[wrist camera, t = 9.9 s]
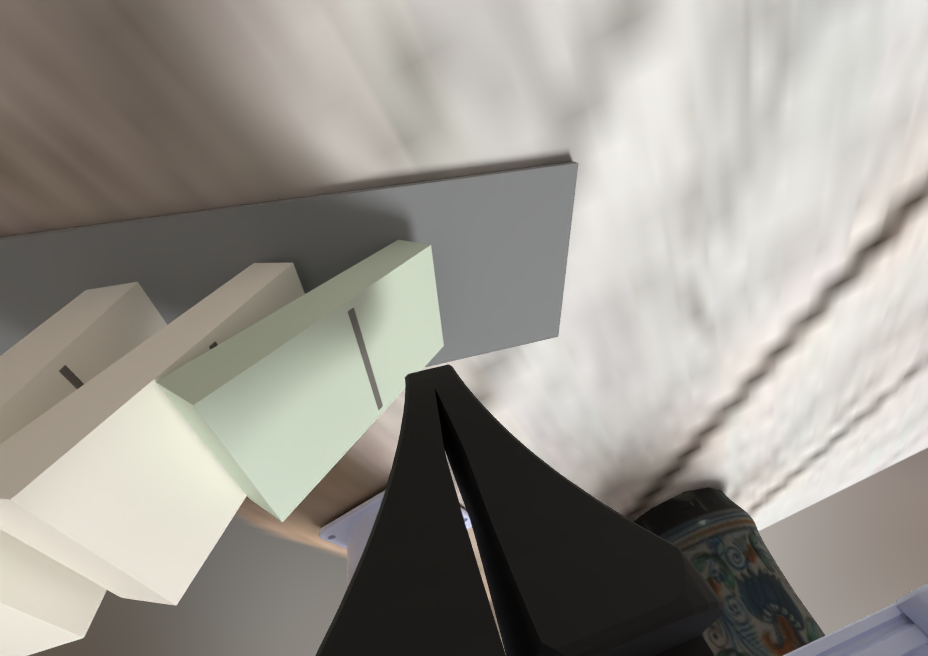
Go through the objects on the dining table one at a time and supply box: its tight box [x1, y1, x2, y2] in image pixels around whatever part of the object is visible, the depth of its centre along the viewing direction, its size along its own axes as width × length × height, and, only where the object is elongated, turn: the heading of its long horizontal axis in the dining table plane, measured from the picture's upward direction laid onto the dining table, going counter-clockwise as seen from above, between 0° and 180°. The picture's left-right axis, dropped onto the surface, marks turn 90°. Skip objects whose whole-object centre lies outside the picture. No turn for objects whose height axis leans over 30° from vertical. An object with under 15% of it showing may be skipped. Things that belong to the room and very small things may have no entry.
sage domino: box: [156, 240, 444, 522], centre depth 12 cm, size 2×5×9 cm
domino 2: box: [0, 263, 305, 605], centre depth 11 cm, size 2×5×9 cm, turn 4°
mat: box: [0, 162, 578, 367], centre depth 14 cm, size 36×9×1 cm, turn 94°
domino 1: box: [0, 282, 167, 656], centre depth 10 cm, size 2×5×9 cm, turn 4°
